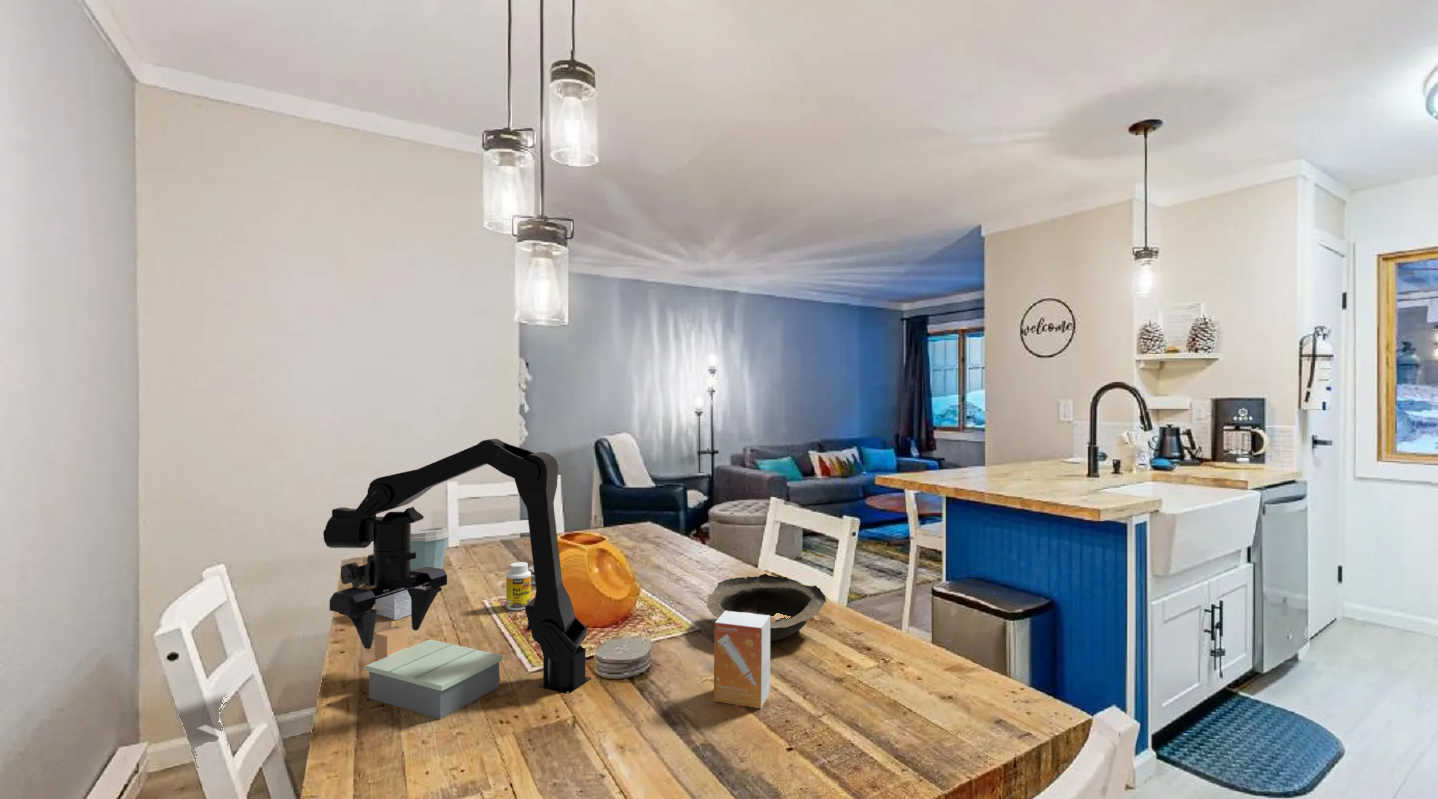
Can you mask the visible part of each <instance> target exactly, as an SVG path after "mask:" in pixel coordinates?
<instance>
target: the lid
mask: <svg viewBox="0 0 1438 799" xmlns="http://www.w3.org/2000/svg"><path fill="white" fill-rule="evenodd" d="M408 642H409V629H408V628H406V627H401V626H398V625H396V626H392V627H389V628H386V629H384V630H380V631H378V632H376V633H375V632H374V661H373V662H371V663H369V664H366V665H365V671H367V672H369V671H370V672H373V673H377V674H381V675H384V676H388V677H392V678H395V679H399V680H403V681H406V682H410V683H414V684H417V685H421V686H425V687H428V688H432V689H436V690H439V691H443V690H445V689H447V688H449V687H451V686H453V685H455V684H457V683H459V682H461V681H463V680H465V679H467V678H469V677H470V676H472V675H474V674H476V673H478V672H480V671H482V670H484V669H486V668H488V667H490V666H492V665H494V664H496V663H498V662H499V663H500V662H502V661H503V655H502V654H497V653H493V652H487V651H483V650H480V649H478V648H471V647H466V646H462V645H457V644H455V643H454V642H452V643H449V642H443V641H440V640H435V639H428V640H424V641H422V642H420V643H418V644H415V645H413V646H410V647H409V643H408Z"/></svg>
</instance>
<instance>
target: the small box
mask: <svg viewBox="0 0 1438 799" xmlns="http://www.w3.org/2000/svg"><path fill="white" fill-rule="evenodd" d="M770 620H771V616H770V615H760V614H753V613H745V612H732V611H725V612H724V613H723V614H722V615H721V616H720V617H717V619H716V621H715V622H714V629H713V630H714V635H713V636H714V641H713V642H714V644H713V701H714V702H715V703H724V704H729V705H736V706H743V707H747V706H748V708H753V707H754V709H757V708H761V709H762V708H763V706H764V704H765V702H766V700H767V698H768V695H769V694H770V691H771V641H770Z"/></svg>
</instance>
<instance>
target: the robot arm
mask: <svg viewBox="0 0 1438 799" xmlns="http://www.w3.org/2000/svg"><path fill="white" fill-rule="evenodd" d="M486 465H489V466H491V467H492V468H493V469H495V470H496V471H498V472H500V473H501V474H503V475H506V476H507V477H509V478H510V477H511V478H512V479H514V482H515V486H516V489H517V493H518V495H519V497H520V499H521V500H522V502H523V504H524V506H525V509H526V511H527V522H528V530H529V540H530V548H531V556H532V566H533V572H534V573H533V575H534V583H535V596H534V597H533V598H531V601H530V602H529V603H528V604H527V605H526V606H525V609H524V610H525V614H526V618H527V628H526V632H530V635H531V638H532V639H533V641H534V642H536V643H537V644H539V646H540V649H541V652H542V656H543V658H542V660H543V661H542V664H543V665H542V666H543V669H542V671H543V672H542V680H543V681H544V682H541V683H540V684H538V688H541V689H546V690H550V691H553V692H556V693H562V694H565V695H566V694H567V695H568V694H571V693H573V692H574V691H575V690H577V689H580V687H582V686H583V685H585V684H586V683H588V682H590V680H592V677H589V676H586V671H587V670H586V668H587V666H586V654H587V653H586V648H584V647H583V646H582V645H581V644H583V642H584V641H585V639H586V636H587V633H588V632H589V630H588V627H587V626H586V625H584V623H582V621H580V620H579V618H577V616H576V614H575V610H574V607H573V604H572V603H573V602H572V601H571V597H570V595H569V593H568V592H567V590H566V588H565V586H564V583H563V577H562V569H561V568H562V567H561V559H560V558H561V557H560V551H559V543H558V542H559V541H558V533H557V525H556V513H555V505H554V504H555V503H554V502H555V498H556V493H557V488H558V479H559V478H558V477H559V476H558V475H559V464H558V461H557V459H556V458H555V457H554V456H553V455H551V454H550V453H547V452H545V451H539V452H533V451H531V450H528V449H526V448H522V447H519V446H516V445H512V444H509V443H507V442H504V441H502V439H501V440H500V439H499V438H490V439H485V440H481V441H479V442H478V443H477V444H476V445H472V446H470V447H468V448H466V449H463V450H461V451H458V452H456V453H453V454H451V455H448V456H446V457H444V458H442V459H439V460H436V461H435V462H432V463H430V464H427V465H424V466H422V467H420V468H416V469H412V470H409V471H408V470H407V471H403V472H399V473H398V472H397V473H394V474H390V475H386V476H385V475H383V476H381V477H377V478H374V479H373V480H372V481H371V482H370V483H369V486H368V488H367V494H366V495H365V497H364V498H363V500H361V502H360V504H359V505H357V508H349V507H337V508H333V509H332V510H331V517H330V518H329V519H328V520H327V522H326V525H325V528H324V529H323V533H322V534H323V541H324V544H325V545H326V547H328V548H330V549H365V548H367V547H369V546H370V545H371V543H372V544H373V551H372V552H373V553H371V554H368V556H367V559H366V563H365V564H363V565H358V563H357V562H351V563H347V564H344V565H342V566H340V567H341V568H340V580H341V584H343V585H349V584H351V586H352V587H349V588H347V589H343V590H339V591H336V592H333V594H332V595H331V597H330V598H329V611H330V612H333V613H334V612H336V613H338V614H339V615H343V616H347V617H348V618H349V620H351V622H352V623H353V625H354V627H355V630H356V632H357V634H358V636H359V638H360V641H361V643H362V646H363V648H364V649H365V650H370V649H371V648H372V645H373V640H374V636H375V628H376V627H375V626H376V618H377V614H376V612H377V610H375V608H374V607H375V600H376V599H379V598H382V597H385V596H389V595H392V594H395V593H398V592H401V591H405V590H407V591H408V593H409V595H410V597H411V619H410V620H411V628H412V630H413V631H418V630H419V629H420V627H421V625H422V623H423V621H424V619H425V616H426V615H427V612H428V611H429V609H430V607H431V605H432V604H433V602H434V601H435V599H436V597H437V595H438V593H439V592H442V587H444V586H447V585H448V574H447V572H446V570H444V568H443V569H439V568H433V567H423V568H419V569H416V570H412V571H411V559H415V558H416V552H411V531H412V527H411V526H412V524H414V523H417V522H419V521H422V520H424V518H425V517H424V515H423V514H422V513H420V512H419V511H417V509H415V507H414V506H411V507H410V506H409V507H407V508H405V510H404V511H391V510H393V509H397V508H400V507H403V506H406V505H409V504H410V503H412V502H413V501H415V500H417V499H418V498H420V497H422V496H423V495H425V494H426V493H427V492H428V491H430V490H431V489H432V488H434V487H435V486H438V485H440V484H443V483H445V482H447V481H450V480H452V479H455V478H456V477H459V476H462V475H464V474H467V473H469V472H471V471H474V470H477V469H478V468H481V467H483V466H486ZM387 511H389V512H387ZM384 512H387V513H386V514H384V516H377V515H378V514H382V513H384ZM361 585H364V587H373V588H369V589H366V588H361V587H360V586H361ZM383 590H387V591H383Z"/></svg>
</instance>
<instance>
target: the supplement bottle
mask: <svg viewBox="0 0 1438 799" xmlns="http://www.w3.org/2000/svg"><path fill="white" fill-rule="evenodd" d="M528 565H529V563H527V562H525V561H518V562H517V561H516V562H512V563H510V565H509V572H507V573H506V578H505V579H506V580H505V581H506V586H505V588H506V590H505V591H506V595H505V596H506V597H505V598H506V600H505V603H506V605H505V606H506V609H507V610H509V611H523V609H524V610H525V606H526V605H527V604H528V603H529V602H530V601H531V600H532V572H531V571H530V570H529V566H528Z"/></svg>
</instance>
